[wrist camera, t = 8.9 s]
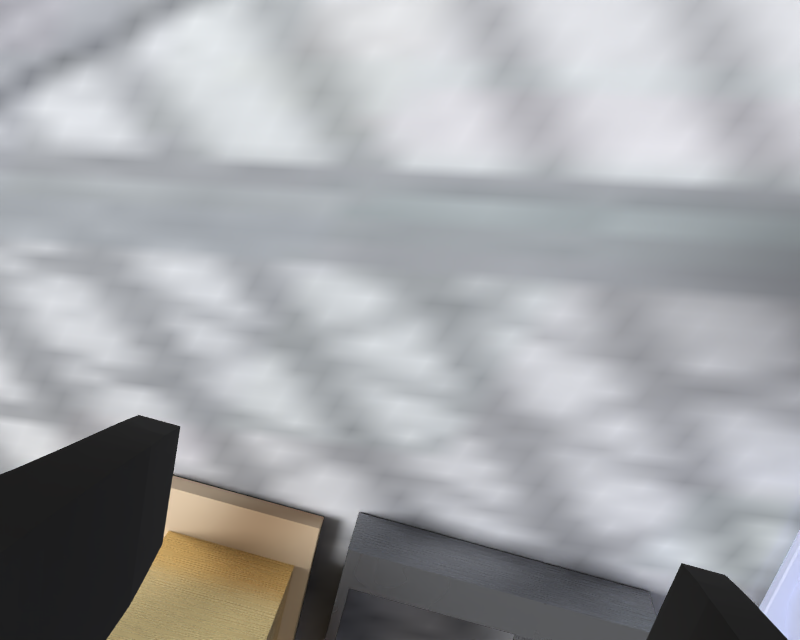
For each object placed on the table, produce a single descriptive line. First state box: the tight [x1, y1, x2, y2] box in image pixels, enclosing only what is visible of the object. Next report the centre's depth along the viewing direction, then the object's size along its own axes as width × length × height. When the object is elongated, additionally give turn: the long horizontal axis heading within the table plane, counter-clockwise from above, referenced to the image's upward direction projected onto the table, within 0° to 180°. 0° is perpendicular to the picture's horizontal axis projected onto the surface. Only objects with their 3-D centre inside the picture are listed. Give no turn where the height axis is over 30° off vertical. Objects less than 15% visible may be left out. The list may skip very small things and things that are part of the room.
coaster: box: [163, 476, 324, 640], centre depth 24 cm, size 5×7×1 cm
